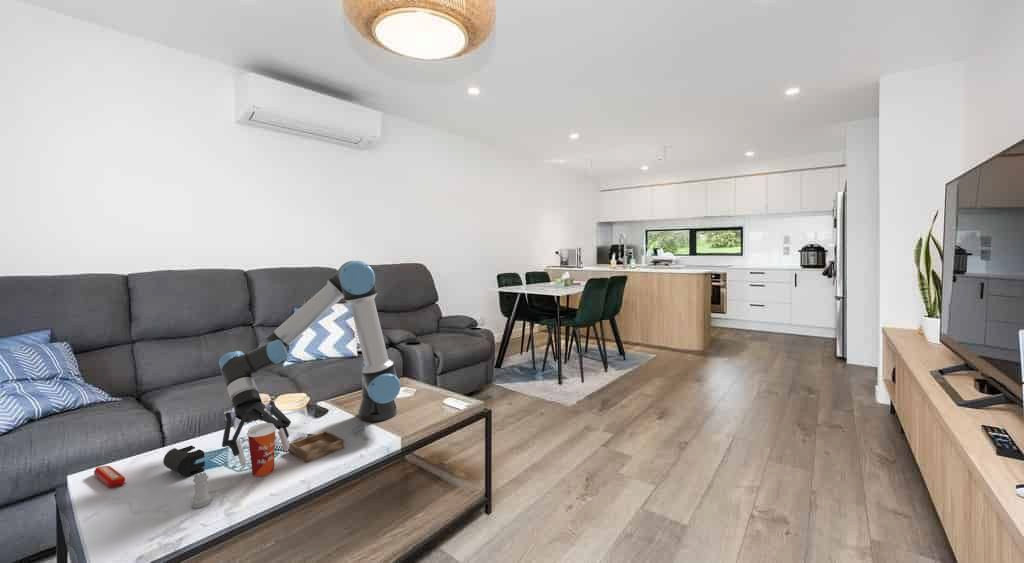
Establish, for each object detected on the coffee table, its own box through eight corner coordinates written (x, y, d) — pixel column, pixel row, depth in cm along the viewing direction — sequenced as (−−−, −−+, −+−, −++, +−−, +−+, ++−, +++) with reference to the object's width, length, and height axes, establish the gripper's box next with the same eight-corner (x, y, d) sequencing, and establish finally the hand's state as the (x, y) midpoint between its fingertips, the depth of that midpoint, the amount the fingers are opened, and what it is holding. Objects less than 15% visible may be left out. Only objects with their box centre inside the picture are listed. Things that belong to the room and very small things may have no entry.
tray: (326, 438, 149) (326, 430, 149) (344, 448, 142) (344, 439, 142) (289, 452, 139) (288, 443, 139) (306, 463, 132) (305, 453, 132)
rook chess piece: (189, 510, 107) (187, 480, 107) (194, 501, 111) (192, 472, 111) (209, 506, 109) (208, 477, 109) (214, 497, 113) (212, 469, 113)
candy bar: (127, 485, 120) (127, 475, 120) (110, 491, 117) (109, 481, 116) (108, 471, 128) (108, 461, 128) (92, 476, 125) (91, 466, 125)
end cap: (163, 473, 126) (162, 451, 126) (190, 463, 132) (189, 442, 132) (178, 482, 121) (177, 459, 121) (206, 471, 127) (204, 450, 127)
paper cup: (264, 479, 122) (262, 433, 121) (242, 477, 124) (240, 431, 123) (284, 466, 130) (282, 422, 129) (263, 464, 131) (261, 421, 130)
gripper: (280, 391, 144) (302, 447, 136) (197, 412, 126) (217, 478, 117) (286, 379, 141) (309, 435, 132) (202, 398, 122) (223, 465, 114)
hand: (266, 455), depth 125 cm, fingers open, 11 cm apart
